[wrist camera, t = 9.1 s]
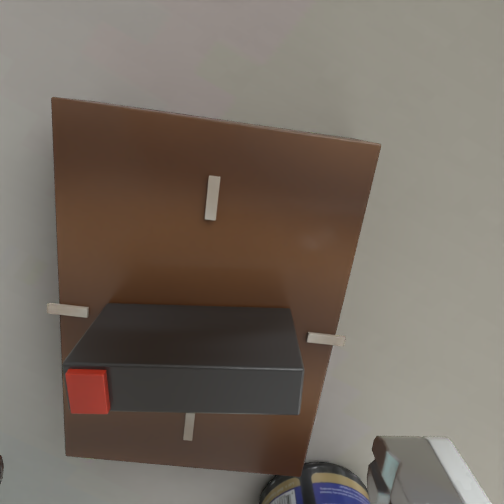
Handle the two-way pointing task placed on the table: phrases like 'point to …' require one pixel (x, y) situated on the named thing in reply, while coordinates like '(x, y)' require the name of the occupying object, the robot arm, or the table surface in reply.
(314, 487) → the pill bottle
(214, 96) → the table surface
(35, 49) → the table surface
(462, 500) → the robot arm
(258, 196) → the panel
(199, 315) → the grey block
